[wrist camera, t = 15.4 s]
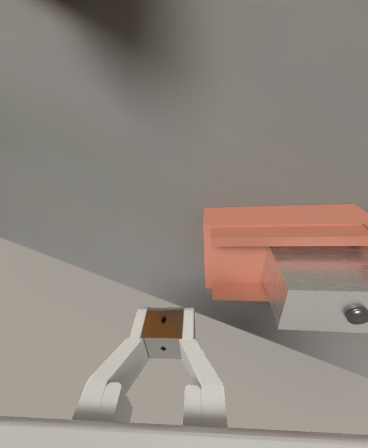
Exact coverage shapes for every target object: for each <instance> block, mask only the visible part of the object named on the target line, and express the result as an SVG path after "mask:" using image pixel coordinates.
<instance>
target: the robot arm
mask: <svg viewBox="0 0 368 448" xmlns="http://www.w3.org/2000/svg"><path fill="white" fill-rule="evenodd" d="M149 358H173V359H174V358H175V359H182V361H183V364H184V366H185V368H186V370H187V373H188V375H189V377H190V379H191V382H192V384H193V385H188V386H187V387H186V388H185V398H184V419H183V425H164V424H145V423H130V419H131V414H132V409H133V408H132V406H131V404H130V401H129V399H128V398H127V396H126V393H127V392H128V390H129V388H130V387H131V386H132V384H133V383H134V381H135V380H136V378H137V377H138V375H139V374H140V372H141V371H142V369H143V368H144V366H145V365H146V363H147V362H148V360H149ZM0 448H368V435H360V434H341V433H322V432H301V431H282V430H262V429H243V428H227V418H226V407H225V396H224V387H223V384H222V382H221V381H220V379H219V378H218V375H217V374H216V372H215V370H214V368H213V367H212V365H211V364H210V362H209V360H208V358H207V357H206V355H205V353H204V351H203V350H202V348H201V346H200V345H199V343H198V341H197V340H196V339H195V316H194V308H138V310H137V313H136V316H135V320H134V323H133V327H132V330H131V333H130V337H129V338H126V339H125V340H124V341H123V342H122V344H121V345H120V346H119V347H118V348H117V349H116V350H115V351H114V352H113V353H112V354H111V355H110V357H109V358H108V359H107V360H106V361H105V362H104V363H103V364H102V365H101V366H100V367H99V368H98V369H97V370H96V372H95V373H94V374H93V375H92V376H91V377H90V378H89V379H88V381H87V383H86V385H85V388H84V390H83V393H82V395H81V398H80V401H79V403H78V405H77V408H76V411H75V413H74V416H73V418H72V420H66V419H47V418H27V417H8V416H7V417H6V416H0Z"/></svg>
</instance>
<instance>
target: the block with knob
mask: <svg viewBox="0 0 368 448" xmlns="http://www.w3.org/2000/svg"><path fill="white" fill-rule="evenodd" d="M262 281H263V285H264V288H265V291H266V294H267V297H268V300H269V303H270V307H271V310H272V313H273V316H274V319H275V322H276V326H277V329H285V330H308V331H331V332H354V333H368V254H367V253H365V252H364V251H363V250H362V249H361V248H360V247H359V246H267V249H266V255H265V261H264V267H263V273H262Z"/></svg>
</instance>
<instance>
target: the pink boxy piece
mask: <svg viewBox="0 0 368 448" xmlns="http://www.w3.org/2000/svg"><path fill="white" fill-rule="evenodd" d="M203 235H204V266H205V289H212V300H228V301H264V302H269V300H268V297H267V294H266V291H265V288H264V285H263V281H262V273H263V267H264V261H265V255H266V249H267V246H359V247H360V248H361V249H362V250H363V251H364V252H365V253H367V254H368V213H367V212H366V211H364V210H363V209H361V208H360V207H358V206H357V205H355V204H327V205H290V206H253V207H216V208H204V213H203Z"/></svg>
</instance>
